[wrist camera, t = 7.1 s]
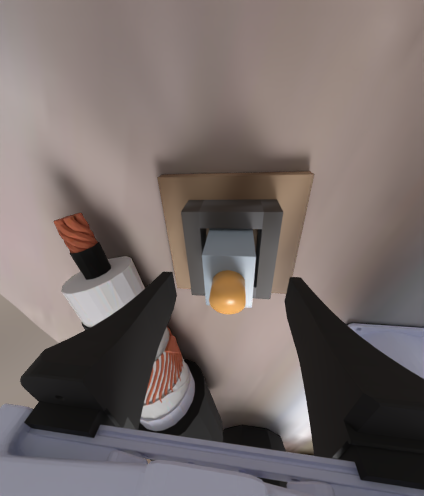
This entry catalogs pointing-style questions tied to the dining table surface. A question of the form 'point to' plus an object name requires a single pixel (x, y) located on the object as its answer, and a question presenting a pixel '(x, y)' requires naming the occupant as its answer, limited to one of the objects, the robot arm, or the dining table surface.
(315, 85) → the dining table surface
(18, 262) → the dining table surface
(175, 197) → the holder
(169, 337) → the cable
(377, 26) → the dining table surface
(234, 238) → the connector
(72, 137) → the dining table surface
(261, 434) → the bottle
